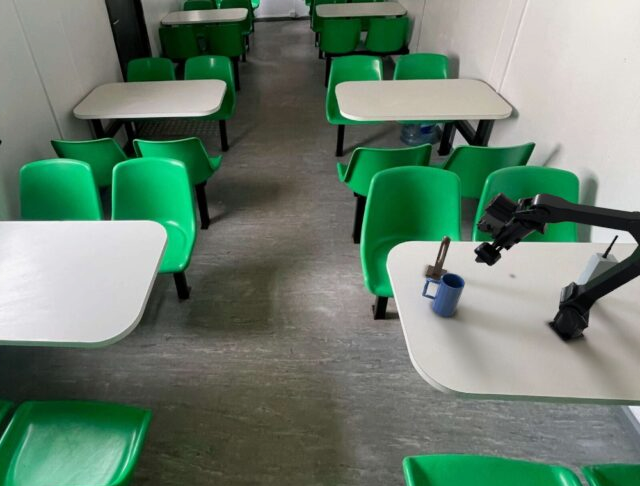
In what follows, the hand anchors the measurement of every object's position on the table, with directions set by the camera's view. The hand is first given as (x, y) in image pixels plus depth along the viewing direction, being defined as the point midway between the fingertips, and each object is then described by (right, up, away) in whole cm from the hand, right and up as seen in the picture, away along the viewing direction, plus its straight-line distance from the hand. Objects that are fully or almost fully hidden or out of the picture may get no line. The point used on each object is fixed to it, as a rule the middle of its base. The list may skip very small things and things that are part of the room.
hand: (484, 253), depth 130 cm
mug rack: (-12, -11, +10) cm, 19 cm away
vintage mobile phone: (+33, -14, +3) cm, 36 cm away
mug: (-14, -17, +2) cm, 22 cm away
